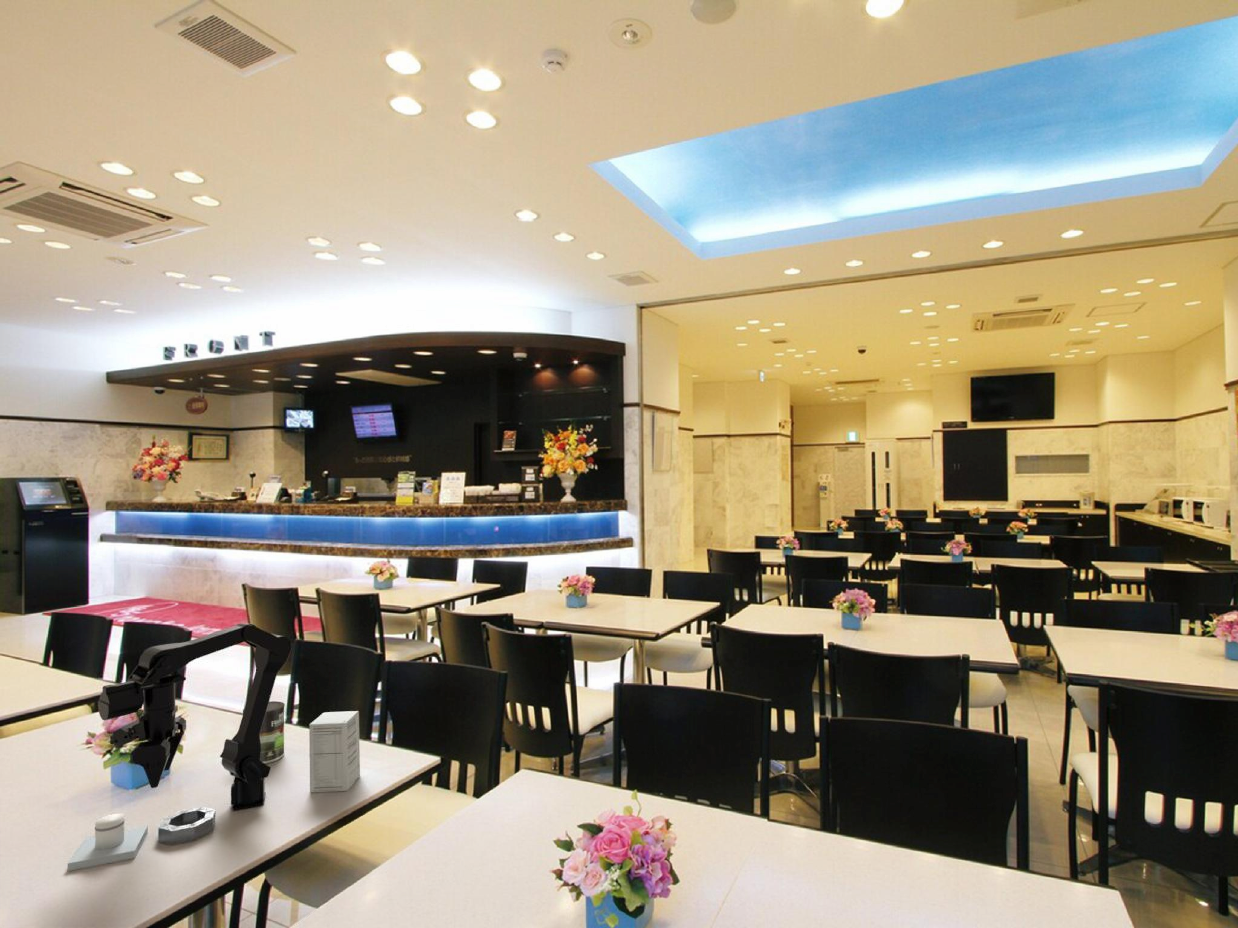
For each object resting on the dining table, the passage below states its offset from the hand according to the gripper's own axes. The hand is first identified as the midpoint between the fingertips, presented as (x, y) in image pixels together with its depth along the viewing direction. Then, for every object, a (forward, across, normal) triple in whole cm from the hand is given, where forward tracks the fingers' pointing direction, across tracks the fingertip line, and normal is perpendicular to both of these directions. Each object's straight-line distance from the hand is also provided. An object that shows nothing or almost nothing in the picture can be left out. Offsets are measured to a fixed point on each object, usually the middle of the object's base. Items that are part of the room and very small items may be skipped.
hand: (160, 778), depth 146 cm
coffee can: (+13, -39, +15) cm, 44 cm away
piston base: (+12, +3, -8) cm, 15 cm away
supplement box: (+13, -13, +34) cm, 39 cm away
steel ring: (+12, 0, +5) cm, 13 cm away
